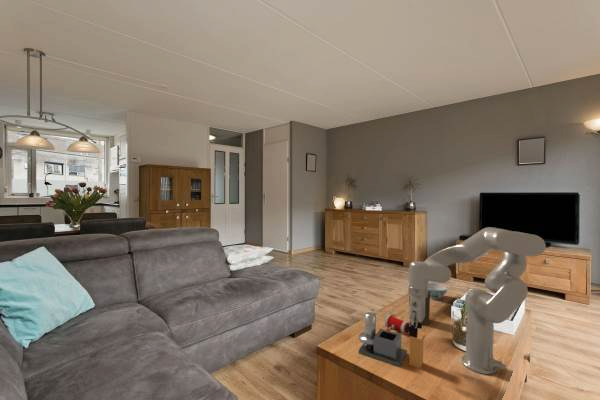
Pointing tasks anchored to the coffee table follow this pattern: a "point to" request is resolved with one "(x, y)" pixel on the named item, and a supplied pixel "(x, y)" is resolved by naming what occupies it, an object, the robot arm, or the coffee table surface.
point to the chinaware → (436, 290)
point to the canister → (427, 309)
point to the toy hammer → (396, 324)
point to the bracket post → (381, 343)
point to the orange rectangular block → (416, 351)
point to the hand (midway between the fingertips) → (415, 331)
